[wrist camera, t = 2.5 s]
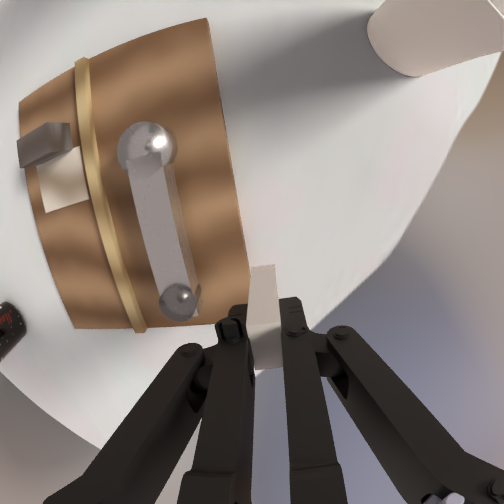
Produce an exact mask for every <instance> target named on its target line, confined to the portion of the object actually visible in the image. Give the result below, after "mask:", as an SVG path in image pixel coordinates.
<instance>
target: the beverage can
mask: <svg viewBox="0 0 504 504" xmlns="http://www.w3.org/2000/svg"><path fill="white" fill-rule="evenodd" d="M25 335H26V326H25V321H24V318H23V316H22V314H21V313H20V311H19V310H18V309H17V308H16V307H15V306H14V305H12V304H10V303H8V302H3V303H1V304H0V362H1V361H2V360H3V359H4V358H5V357H6V355H7V354H8V353H9V352H10V351H11V350H12V349H13V348H14V347H15V346H16V345H17V344H18V343H19V342H20V341H21V340H22V338H23V337H24V336H25Z"/></svg>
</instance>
